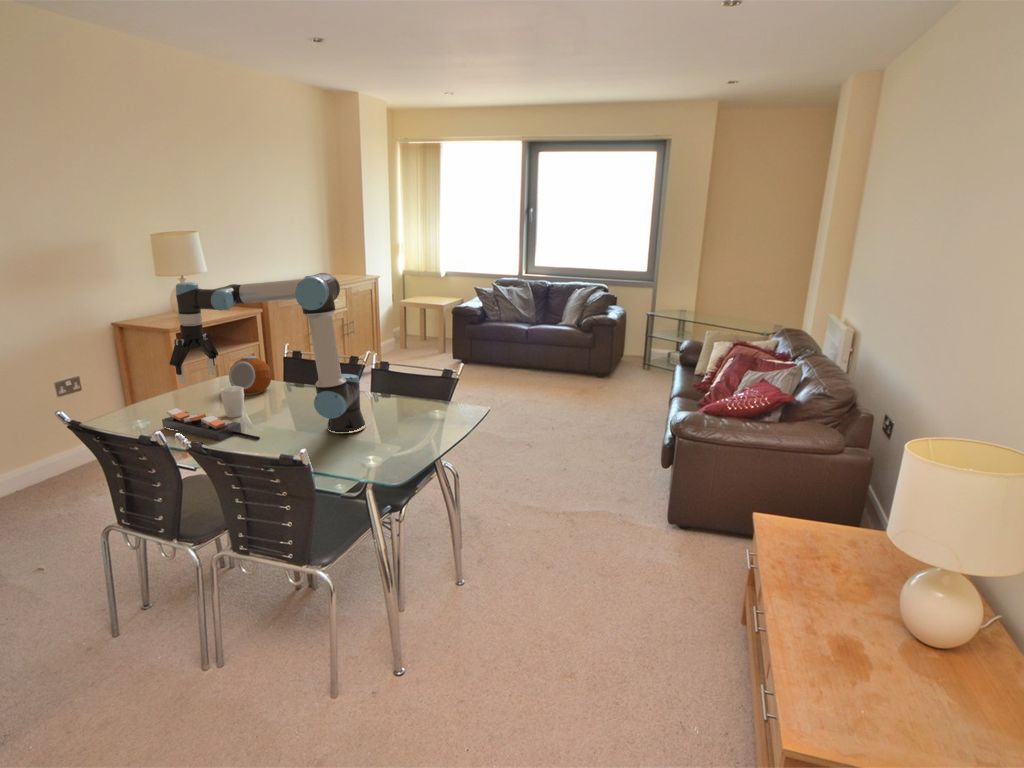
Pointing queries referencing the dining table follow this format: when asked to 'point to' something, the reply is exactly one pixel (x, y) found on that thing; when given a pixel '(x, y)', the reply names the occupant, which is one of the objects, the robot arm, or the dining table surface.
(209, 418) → the rocker
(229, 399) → the cup
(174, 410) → the rocker
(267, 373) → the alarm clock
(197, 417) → the rocker
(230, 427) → the power strip
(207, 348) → the robot arm
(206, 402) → the dining table surface
